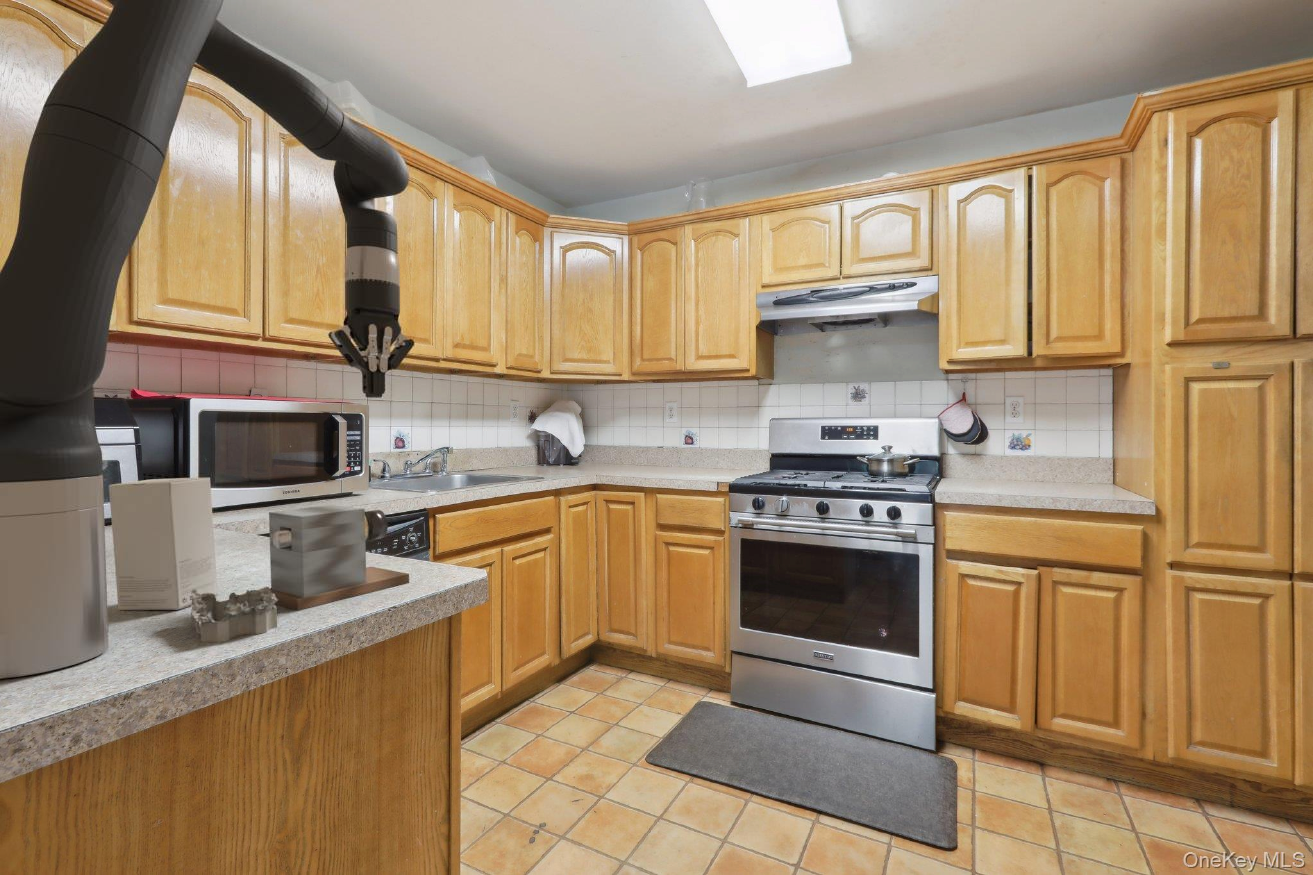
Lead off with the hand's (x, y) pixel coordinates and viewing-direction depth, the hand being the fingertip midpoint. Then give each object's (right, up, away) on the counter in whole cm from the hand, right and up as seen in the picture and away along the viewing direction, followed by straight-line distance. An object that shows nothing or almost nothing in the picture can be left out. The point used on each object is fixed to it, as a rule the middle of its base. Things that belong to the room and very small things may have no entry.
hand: (374, 397), depth 94 cm
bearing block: (0, -26, -11) cm, 29 cm away
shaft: (0, -21, -12) cm, 24 cm away
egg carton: (-4, -27, -26) cm, 37 cm away
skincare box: (-18, -27, -16) cm, 37 cm away
